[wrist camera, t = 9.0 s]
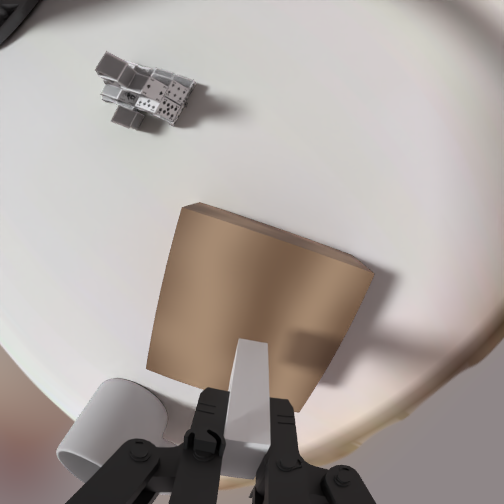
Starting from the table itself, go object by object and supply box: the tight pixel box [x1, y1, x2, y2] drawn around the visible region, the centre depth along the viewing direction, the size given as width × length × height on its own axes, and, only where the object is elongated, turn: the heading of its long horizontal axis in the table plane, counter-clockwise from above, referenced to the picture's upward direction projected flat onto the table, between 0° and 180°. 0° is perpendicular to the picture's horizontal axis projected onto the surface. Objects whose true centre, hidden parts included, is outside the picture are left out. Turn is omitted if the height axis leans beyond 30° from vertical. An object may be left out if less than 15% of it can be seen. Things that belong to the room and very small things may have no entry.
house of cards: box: [95, 51, 196, 130], centre depth 15 cm, size 9×9×8 cm
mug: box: [57, 378, 177, 495], centre depth 20 cm, size 12×8×11 cm
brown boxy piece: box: [146, 202, 374, 412], centre depth 19 cm, size 12×12×5 cm
